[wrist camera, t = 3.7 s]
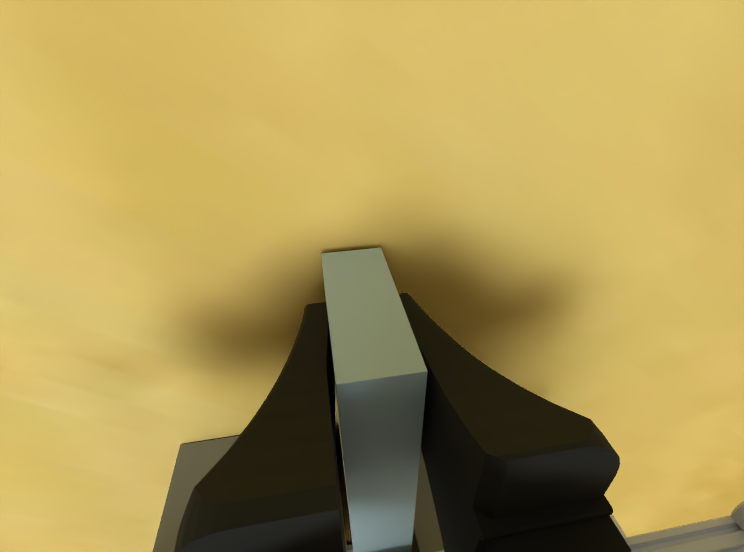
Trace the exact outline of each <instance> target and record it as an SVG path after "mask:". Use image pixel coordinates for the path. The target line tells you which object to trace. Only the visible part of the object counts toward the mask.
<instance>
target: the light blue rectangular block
mask: <svg viewBox="0 0 744 552" xmlns="http://www.w3.org/2000/svg"><path fill="white" fill-rule="evenodd" d="M321 260H322V270H323V279H324V289H325V298H326V305H327V313H328V322H329V331H330V341H331V350H332V360H333V369H334V379H335V393H336V402H337V411H338V421H339V430H340V440H341V449H342V459H343V468H344V478H345V487H346V496H347V505H348V514H349V523H350V532H351V541H352V550H353V552H411V549H412V538H413V527H414V516H415V505H416V494H417V483H418V472H419V461H420V450H421V439H422V428H423V417H424V406H425V394H426V383H427V372H428V371H427V368H426V366H425V363H424V360H423V358H422V355H421V352H420V350H419V347H418V344H417V342H416V339H415V337H414V334H413V331H412V329H411V326H410V323H409V321H408V318H407V315H406V313H405V310H404V307H403V305H402V302H401V299H400V297H399V294H398V291H397V289H396V286H395V283H394V281H393V278H392V276H391V273H390V270H389V268H388V265H387V262H386V260H385V257H384V254H383V252H382V249H381V248H371V249H361V250H351V251H341V252H331V253H321Z"/></svg>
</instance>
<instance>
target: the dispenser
mask: <svg viewBox="0 0 744 552" xmlns="http://www.w3.org/2000/svg"><path fill="white" fill-rule="evenodd" d="M238 437H239V436H233V437H227V438H220V439H214V440H207V441H201V442H195V443H188V444H182V445H180V449H179V453H178V456H177V460H176V464H175V468H174V472H173V476H172V479H171V483H170V487H169V491H168V495H167V499H166V502H165V506H164V510H163V514H162V518H161V522H160V526H159V529H158V533H157V537H156V541H155V545H154V549H153V552H174V548H175V544H176V539H177V534H178V530H179V526H180V523H181V520H182V517H183V514H184V511H185V509H186V506H187V503H188V501H189V498H190V496H191V493H192V491H193V489H194V487H195V486H196V485H197V484H198V483H199V481H200V480H201V479H202V478H203V477H204V476H205V475H206V474H207V473H208V472H209V471H210V470H211V469H212V467H213V466H214V465H215V464H216V463H217V462H218V461H219V460H220V459H221V458H222V457H223V455H224V454H225V453H226V452H227V451H228V450H229V448H230V447H231V446H232V445H233V443H234V442H235V441H236V440H237V438H238ZM339 485H340V484H339ZM340 495H341V492H340ZM341 505H342V500H341ZM342 515H343V508H342ZM610 517H611V519H612V520H613V522H614V523H615V525H616V527H617V528H618V530H619V531H620V533H621V534H622V536H623V538H627V537H626V535H625V533H624V532H623V530H622V529H621V527H620V526H619V524H618V522H617V521H616V519H615V518H614V516H613V515H612V516H610ZM343 525H344V517H343ZM344 534H345V525H344ZM345 544H346V552H347V543H346V534H345ZM411 552H444V547H443V542H442V537H441V532H440V528H439V523H438V519H437V514H436V510H435V506H434V501H433V497H432V492H431V488H430V484H429V480H428V475H427V471H426V467H425V463H424V459H423V455H422V451H421V450H420V461H419V472H418V483H417V494H416V505H415V516H414V527H413V538H412V549H411Z"/></svg>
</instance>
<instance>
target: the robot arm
mask: <svg viewBox="0 0 744 552" xmlns="http://www.w3.org/2000/svg"><path fill="white" fill-rule="evenodd" d="M399 297H400V299H401V302H402V305H403V307H404V310H405V313H406V315H407V318H408V321H409V323H410V326H411V329H412V331H413V334H414V337H415V339H416V342H417V344H418V347H419V350H420V352H421V355H422V358H423V360H424V363H425V366H426V368H427V371H428V372H427V383H426V394H425V406H424V417H423V428H422V439H421V451H422V455H423V459H424V463H425V467H426V471H427V475H428V480H429V484H430V488H431V492H432V497H433V501H434V506H435V510H436V514H437V519H438V523H439V528H440V532H441V537H442V542H443V547H444V552H744V501H743V502H742V503H740V504H739V505H738V506H737V507H736V508H735V509H734V510H733V511H732V513H731V515H730V516H725V517H721V518H716V519H711V520H707V521H702V522H697V523H692V524H688V525H683V526H678V527H674V528H669V529H664V530H660V531H655V532H650V533H646V534H641V535H636V536H632V537H627V538H623V536H622V534H621V533H620V531H619V530H618V528H617V527H616V525H615V523H614V522H613V520H612V519H611V517H610V515H612V513H613V509H612V507H611V505H610V504H609V502H608V500H607V499H606V497H605V496H604V494H605V492H606V490H607V489H608V487H609V486H610V484H611V482H612V481H613V479H614V477H615V476H616V474H617V471H618V469H619V465H620V460H619V456H618V454H617V453H616V452H615V450H614V449H613V448H612V446H611V445H610V443H609V442H608V441H607V439H606V438H605V436H604V435H603V434H602V432H601V431H600V430H599V429H598V428H597V427H596V425H595V424H594V423H593V422H592V421H591V419H588V418H586V417H584V416H581V415H579V414H577V413H574V412H572V411H570V410H567V409H565V408H563V407H560V406H558V405H556V404H554V403H552V402H549V401H547V400H545V399H543V398H541V397H539V396H537V395H536V394H534V393H532V392H530V391H528V390H526V389H524V388H522V387H520V386H519V385H517V384H515V383H514V382H512V381H510V380H509V379H507V378H505V377H504V376H502V375H500V374H499V373H497V372H496V371H494V370H492V369H491V368H489V367H488V366H487V365H485V364H484V363H482V362H481V361H479V360H478V359H477V358H475V357H474V356H473V355H471V354H470V353H469V352H468V351H466V350H465V349H464V348H463V347H461V346H460V345H459V344H458V343H457V342H456V341H454V340H453V339H452V338H451V337H450V336H449V335H448V334H447V333H446V332H444V331H443V330H442V329H441V328H440V327H439V326H438V325H437V324H436V323H435V322H434V321H433V320H432V319H431V318H430V317H429V316H428V315H427V314H426V313H425V312H424V311H423V310H422V309H421V308H420V306H419V305H418V304H417V303H416V302H415V301H414V300H413V299H412V298H411V297H410V295H408V294H407V293H401V294H399ZM174 552H346V544H345V534H344V525H343V515H342V505H341V495H340V485H339V475H338V466H337V456H336V439H335V379H334V369H333V360H332V350H331V341H330V331H329V322H328V313H327V305H326V302H323V303H314V304H308V305H307V306H306V307H305V309H304V315H303V319H302V323H301V326H300V329H299V332H298V335H297V338H296V340H295V343H294V345H293V348H292V350H291V353H290V355H289V357H288V359H287V361H286V363H285V365H284V367H283V370H282V372H281V374H280V375H279V377H278V379H277V381H276V383H275V385H274V386H273V388H272V390H271V391H270V393H269V395H268V396H267V398H266V400H265V401H264V403H263V404H262V406H261V407H260V409H259V410H258V412H257V413H256V415H255V416H254V417H253V419H252V420H251V422H250V423H249V424H248V426H247V427H246V428H245V429H244V431H243V432H242V433H241V434H240V436H239V437H238V438H237V440H236V441H235V442H234V443H233V445H232V446H231V447H230V448H229V450H228V451H227V452H226V453H225V454H224V455H223V457H222V458H221V459H220V460H219V461H218V462H217V463H216V464H215V465H214V466H213V467H212V469H211V470H210V471H209V472H208V473H207V474H206V475H205V476H204V477H203V478H202V479H201V480H200V481H199V483H198V484H197V485H196V486H195V487H194V489H193V491H192V493H191V496H190V498H189V501H188V503H187V506H186V509H185V511H184V514H183V517H182V520H181V523H180V526H179V530H178V534H177V539H176V544H175V548H174ZM347 552H353V550H352V544H351V545H347Z"/></svg>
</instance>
